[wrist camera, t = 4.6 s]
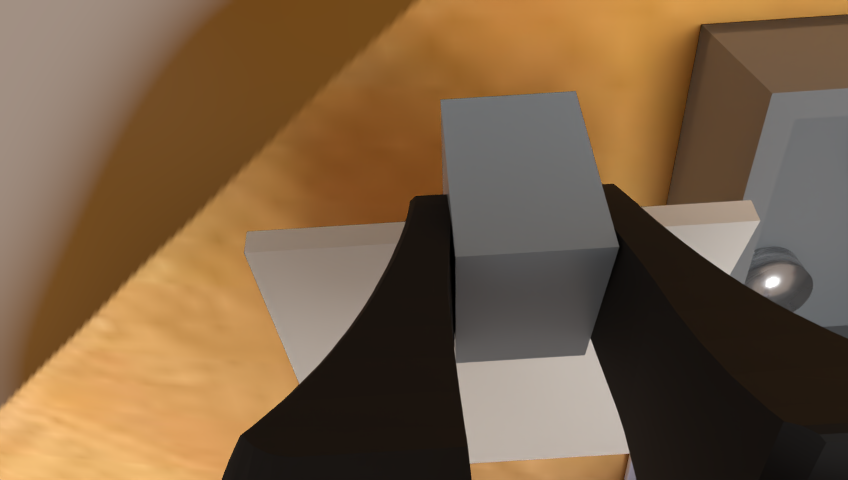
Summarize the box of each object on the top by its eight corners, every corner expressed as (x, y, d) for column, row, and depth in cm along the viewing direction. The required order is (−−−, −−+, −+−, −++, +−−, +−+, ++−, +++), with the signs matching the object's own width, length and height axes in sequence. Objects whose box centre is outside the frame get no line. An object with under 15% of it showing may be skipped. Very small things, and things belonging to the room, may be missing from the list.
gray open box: (890, 321, 30) (967, 413, 26) (640, 338, 30) (678, 432, 26) (1051, 0, 21) (1203, 64, 17) (701, 24, 21) (772, 93, 17)
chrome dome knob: (786, 298, 28) (801, 319, 27) (718, 302, 28) (729, 323, 27) (807, 244, 26) (822, 264, 25) (733, 248, 26) (747, 268, 25)
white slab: (620, 419, 27) (648, 535, 24) (337, 437, 27) (334, 554, 25) (799, 49, 13) (911, 228, 10) (206, 86, 13) (164, 275, 10)
